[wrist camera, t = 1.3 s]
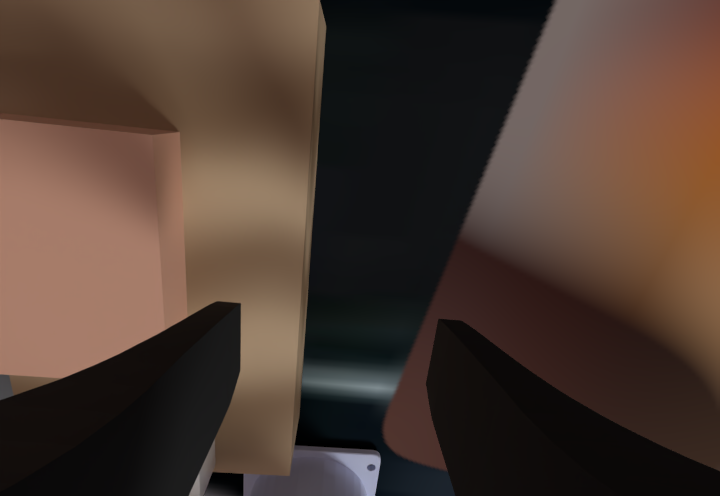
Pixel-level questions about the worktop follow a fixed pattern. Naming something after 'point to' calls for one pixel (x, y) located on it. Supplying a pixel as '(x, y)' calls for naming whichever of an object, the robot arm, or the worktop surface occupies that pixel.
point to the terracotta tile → (86, 242)
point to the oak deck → (204, 162)
